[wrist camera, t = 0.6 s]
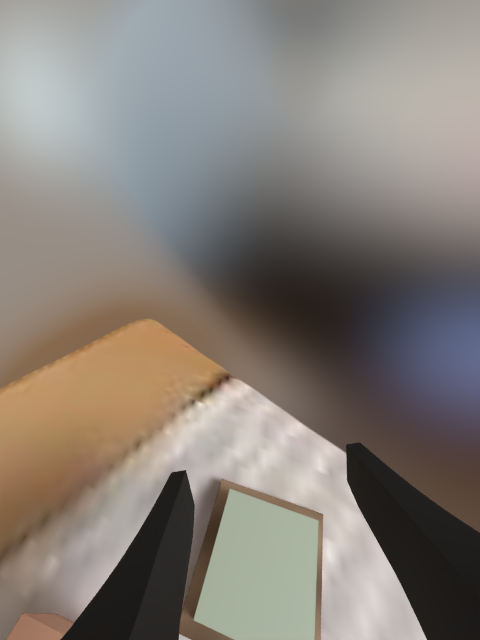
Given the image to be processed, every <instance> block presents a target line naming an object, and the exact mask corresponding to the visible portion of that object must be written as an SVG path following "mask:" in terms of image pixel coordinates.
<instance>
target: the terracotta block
mask: <svg viewBox="0 0 480 640" xmlns="http://www.w3.org/2000/svg"><path fill="white" fill-rule="evenodd" d="M73 624H74V623H72V622H70V621H68V620H67V619H65V618H63V617H61V616H59V615H57V614H37V613H22V615H21V617H20V618H19V620H18V621H17V623H16V625H15V626H14V628H13V629H12V631H11V633H10V634H9V636H8V637H7V639H6V640H60V639H61V638H62V637H63V636H64V635H65V634H66V632H67V631H68V630H69V629H70V628H71V626H72V625H73Z"/></svg>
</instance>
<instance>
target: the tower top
mask: <svg viewBox="0 0 480 640" xmlns="http://www.w3.org/2000/svg"><path fill="white" fill-rule="evenodd" d="M318 523H319V521H318V520H315V519H313V518H310V517H307V516H304V515H302V514H299V513H296V512H293V511H290V510H288V509H285V508H282V507H279V506H277V505H274V504H271V503H268V502H266V501H263V500H260V499H257V498H254V497H252V496H249V495H246V494H243V493H241V492H238V491H235V490H232V489H230V491H229V494H228V498H227V501H226V505H225V509H224V512H223V516H222V519H221V523H220V527H219V530H218V534H217V537H216V541H215V545H214V548H213V552H212V555H211V559H210V563H209V566H208V570H207V573H206V577H205V581H204V584H203V588H202V591H201V595H200V598H199V602H198V606H197V609H196V613H195V616H194V621H196V622H198V623H200V624H203V625H205V626H207V627H209V628H211V629H213V630H215V631H217V632H219V633H221V634H224V635H226V636H228V637H230V638H232V639H234V640H314V636H315V608H316V580H317V551H318Z"/></svg>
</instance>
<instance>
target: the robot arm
mask: <svg viewBox="0 0 480 640" xmlns="http://www.w3.org/2000/svg"><path fill="white" fill-rule="evenodd" d="M346 452H347V481H348V484H349V486H350V488H351V491H352V493H353V495H354V498H355V500H356V502H357V504H358V507H359V508H360V510H361V512H362V514H363V516H364V518H365V519H366V521H367V523H368V525H369V527H370V529H371V530H372V532H373V534H374V536H375V537H376V539H377V541H378V543H379V545H380V546H381V548H382V550H383V552H384V554H385V555H386V557H387V559H388V561H389V563H390V564H391V566H392V568H393V570H394V572H395V574H396V575H397V577H398V579H399V581H400V583H401V585H402V587H403V589H404V591H405V593H406V595H407V598H408V600H409V602H410V604H411V606H412V608H413V610H414V612H415V615H416V617H417V619H418V621H419V623H420V625H421V627H422V630H423V632H424V634H425V636H426V638H427V640H480V533H479V532H477V531H476V530H474V529H473V528H471V527H470V526H468V525H467V524H465V523H463V522H462V521H461V520H459V519H458V518H456V517H455V516H453V515H451V514H450V513H449V512H447V511H446V510H444V509H443V508H442V507H440V506H439V505H437V504H436V503H435V502H433V501H432V500H430V499H429V498H428V497H426V496H425V495H423V494H422V493H421V492H420V491H418V490H417V489H416V488H414V487H413V486H412V485H410V484H409V483H408V482H407V481H405V480H404V479H403V478H402V477H400V476H399V475H398V474H397V473H396V472H394V471H393V470H392V469H391V468H389V467H388V466H387V465H386V464H385V463H383V462H382V461H381V460H380V459H379V458H378V457H376V456H375V455H374V454H373V453H372V452H370V451H369V450H368V449H367V448H365V446H363V445H362V444H361V443H354V444H348V445H346ZM194 507H195V505H194V501H193V497H192V493H191V489H190V485H189V481H188V477H187V473H186V470H184V471H178V472H172V473H171V475H170V476H169V478H168V480H167V482H166V484H165V486H164V488H163V490H162V492H161V493H160V495H159V497H158V499H157V501H156V503H155V504H154V506H153V508H152V510H151V512H150V513H149V515H148V517H147V518H146V520H145V522H144V524H143V525H142V527H141V529H140V530H139V532H138V534H137V535H136V537H135V538H134V540H133V541H132V543H131V545H130V546H129V548H128V549H127V551H126V553H125V554H124V556H123V557H122V559H121V560H120V562H119V563H118V565H117V566H116V567H115V569H114V570H113V572H112V573H111V575H110V576H109V577H108V579H107V580H106V582H105V583H104V584H103V586H102V587H101V589H100V590H99V591H98V593H97V594H96V595H95V597H94V598H93V599H92V600H91V602H90V603H89V604H88V606H87V607H86V608H85V610H84V611H83V612H82V614H81V615H80V616H79V617H78V619H77V620H76V621H75V623H74V624H73V625H72V626H71V628H70V629H69V630H68V631H67V632H66V634H65V635H64V636H63V637H62V638H61V639H60V640H179V628H180V619H181V611H182V604H183V597H184V591H185V584H186V577H187V571H188V564H189V558H190V551H191V544H192V537H193V526H194Z"/></svg>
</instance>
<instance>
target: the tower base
mask: <svg viewBox="0 0 480 640" xmlns="http://www.w3.org/2000/svg"><path fill="white" fill-rule="evenodd" d="M230 489H232V490H235V491H238V492H241V493H243V494H246V495H249V496H252V497H254V498H257V499H260V500H263V501H266V502H268V503H271V504H274V505H277V506H279V507H282V508H285V509H288V510H290V511H293V512H296V513H299V514H302V515H304V516H307V517H310V518H313V519H315V520H318V521H319V523H318V551H317V580H316V608H315V636H314V640H321V596H322V542H323V514H321V513H318V512H316V511H313V510H310V509H307V508H304V507H301V506H298V505H295V504H293V503H290V502H287V501H284V500H281V499H278V498H275V497H272V496H269V495H267V494H264V493H261V492H258V491H255V490H252V489H249V488H246V487H244V486H241V485H238V484H235V483H232V482H229V481H226V480H223V479H222V482H221V485H220V488H219V492H218V495H217V498H216V502H215V505H214V508H213V512H212V515H211V518H210V522H209V525H208V528H207V532H206V535H205V538H204V542H203V545H202V548H201V552H200V555H199V558H198V562H197V565H196V568H195V572H194V575H193V578H192V582H191V585H190V588H189V592H188V595H187V598H186V602H185V605H184V608H183V612H182V615H181V619H180V628H179V634H181V635H183V636H185V637H187V638H189V639H192V640H234V639H232V638H230V637H228V636H226V635H224V634H221V633H219V632H217V631H215V630H213V629H211V628H209V627H207V626H205V625H203V624H200V623H198V622H196V621H194V616H195V613H196V609H197V606H198V602H199V598H200V595H201V591H202V588H203V584H204V581H205V577H206V573H207V570H208V566H209V563H210V559H211V555H212V552H213V548H214V545H215V541H216V537H217V534H218V530H219V527H220V523H221V519H222V516H223V512H224V509H225V505H226V501H227V498H228V494H229V491H230Z"/></svg>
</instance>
